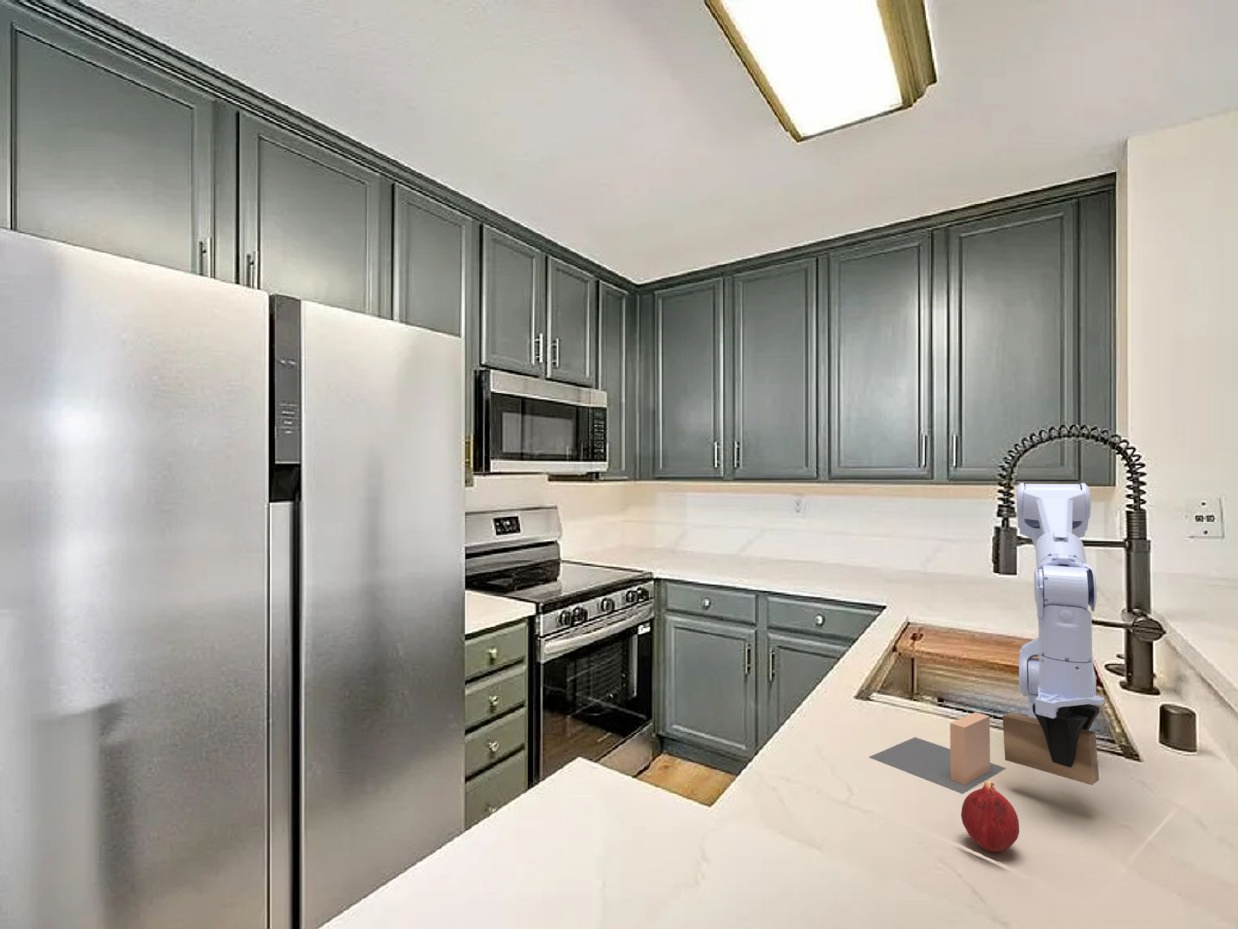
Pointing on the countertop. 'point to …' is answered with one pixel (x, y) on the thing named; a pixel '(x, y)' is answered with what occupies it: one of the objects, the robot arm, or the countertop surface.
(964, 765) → the tile
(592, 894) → the countertop surface
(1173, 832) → the countertop surface
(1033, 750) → the wooden plank piece
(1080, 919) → the countertop surface
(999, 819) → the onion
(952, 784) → the mat
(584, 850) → the countertop surface
